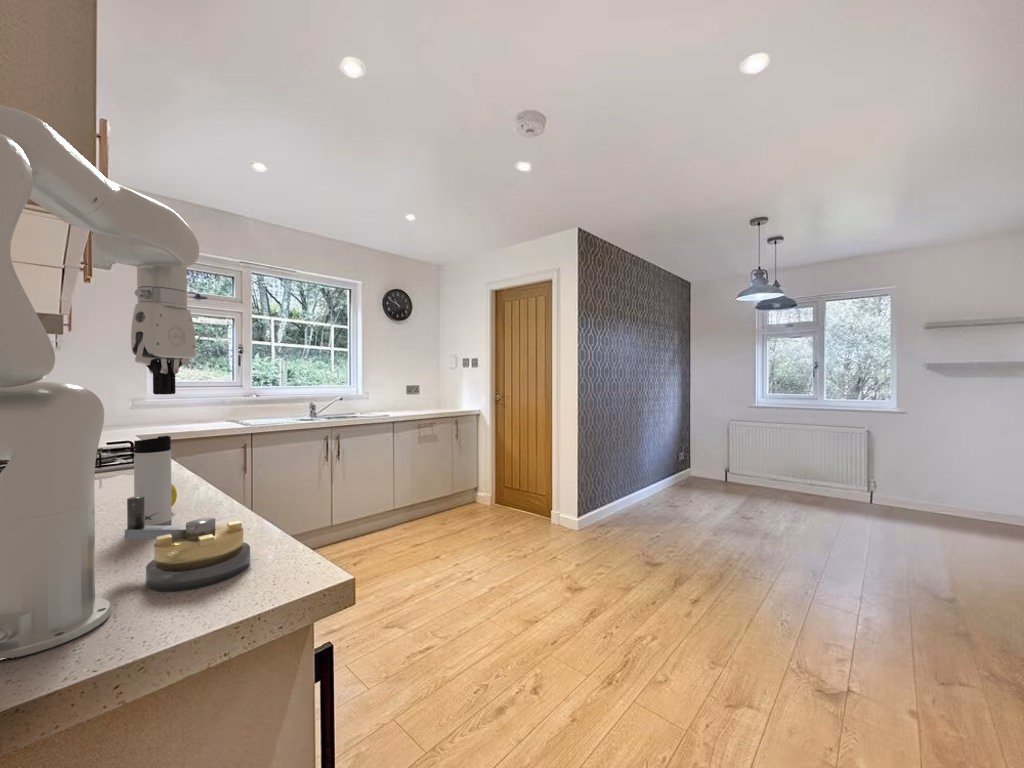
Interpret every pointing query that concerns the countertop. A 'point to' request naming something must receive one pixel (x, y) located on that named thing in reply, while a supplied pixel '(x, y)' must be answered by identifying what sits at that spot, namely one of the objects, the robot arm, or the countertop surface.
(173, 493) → the lemon
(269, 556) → the countertop surface
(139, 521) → the yellow crank mechanism
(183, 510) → the countertop surface
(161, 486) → the travel mug
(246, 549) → the base
